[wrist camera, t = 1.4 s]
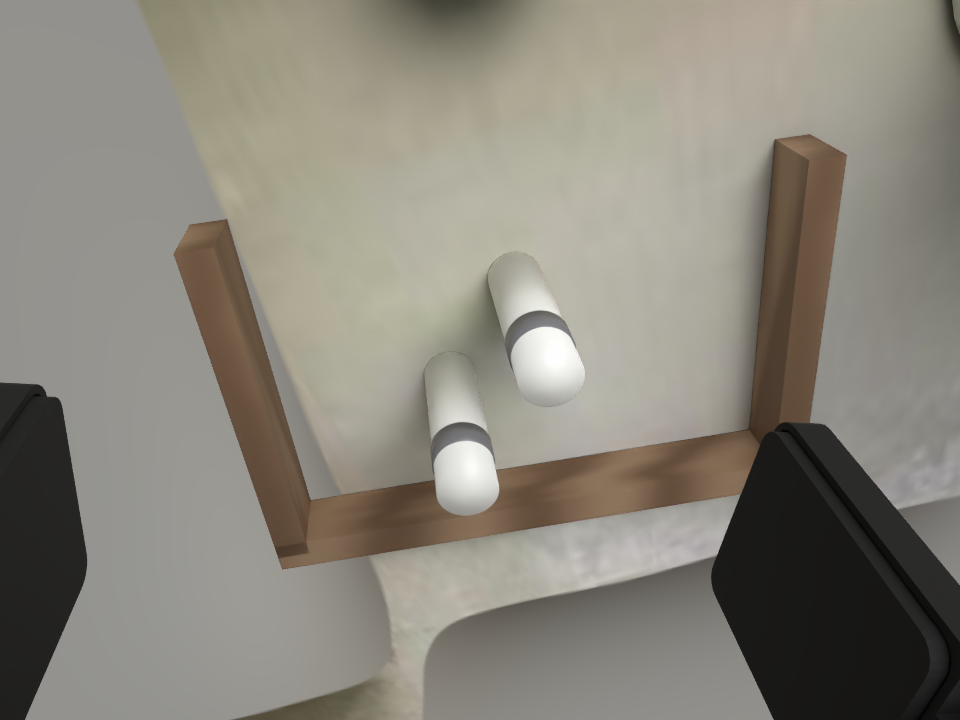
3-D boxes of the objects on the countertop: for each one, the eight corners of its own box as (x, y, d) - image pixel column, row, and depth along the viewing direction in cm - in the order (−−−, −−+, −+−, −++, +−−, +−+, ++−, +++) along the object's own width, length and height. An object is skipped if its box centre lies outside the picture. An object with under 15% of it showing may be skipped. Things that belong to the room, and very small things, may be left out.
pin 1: (472, 347, 36) (497, 460, 29) (478, 391, 37) (503, 510, 30) (419, 355, 36) (430, 471, 29) (427, 399, 37) (439, 521, 30)
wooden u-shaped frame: (809, 134, 33) (846, 154, 30) (774, 447, 41) (800, 484, 39) (189, 224, 32) (173, 253, 29) (288, 526, 40) (282, 569, 38)
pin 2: (540, 246, 34) (584, 342, 27) (544, 297, 35) (587, 402, 28) (483, 255, 34) (513, 353, 27) (489, 305, 35) (519, 412, 28)
